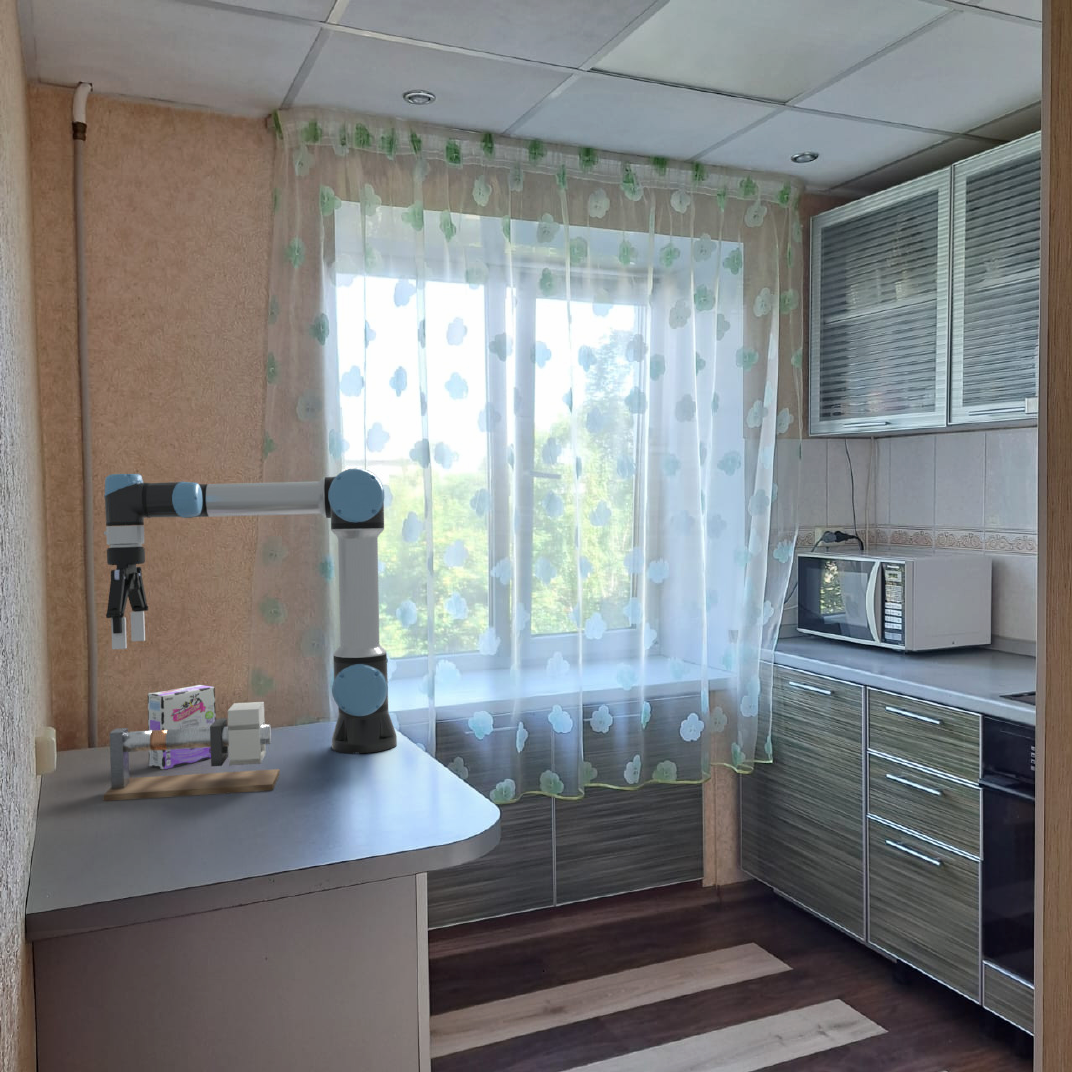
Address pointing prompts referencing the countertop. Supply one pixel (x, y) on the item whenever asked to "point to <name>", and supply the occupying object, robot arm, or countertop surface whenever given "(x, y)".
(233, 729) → the sleeve
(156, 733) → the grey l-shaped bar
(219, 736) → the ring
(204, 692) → the candy box
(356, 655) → the robot arm
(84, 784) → the countertop surface
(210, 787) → the board
